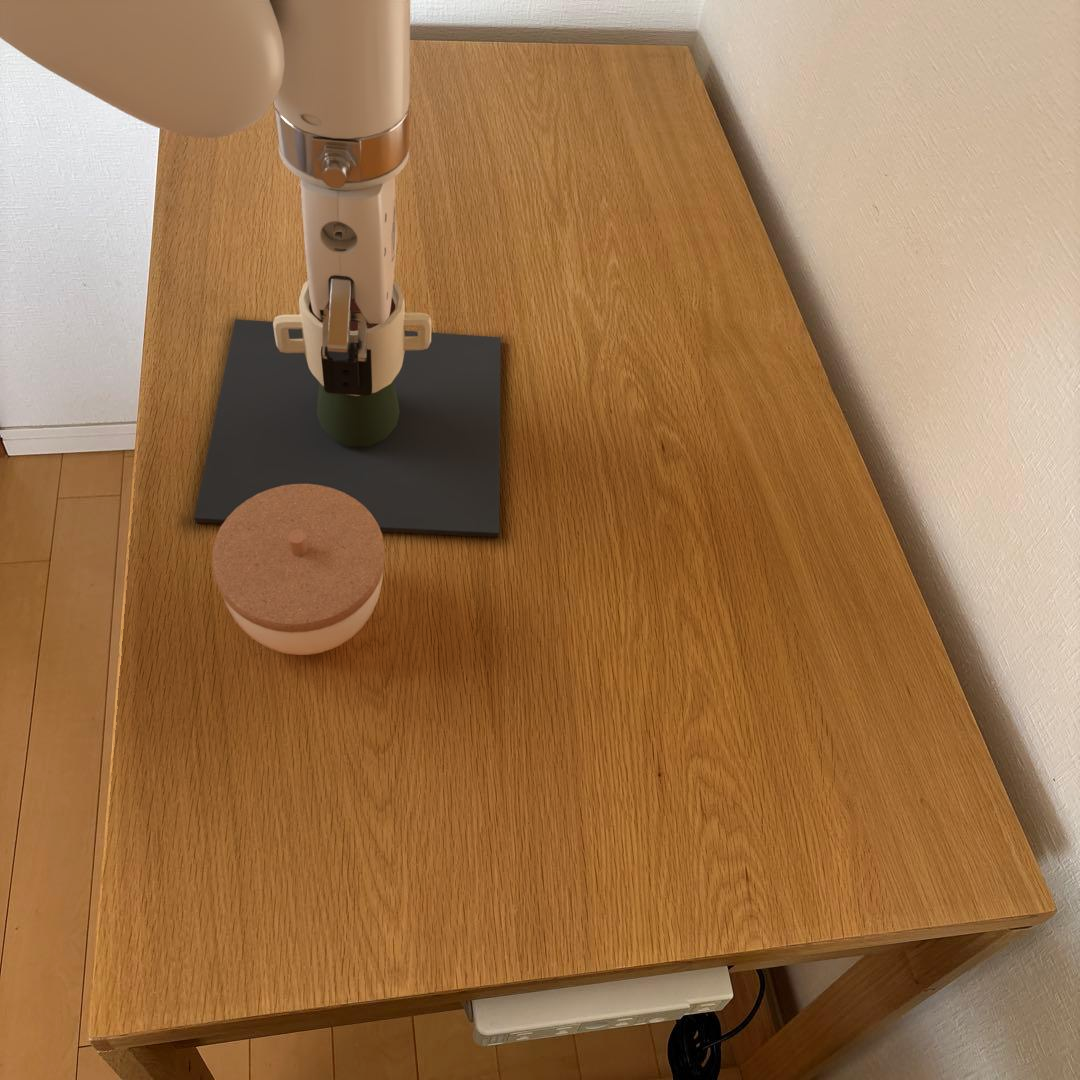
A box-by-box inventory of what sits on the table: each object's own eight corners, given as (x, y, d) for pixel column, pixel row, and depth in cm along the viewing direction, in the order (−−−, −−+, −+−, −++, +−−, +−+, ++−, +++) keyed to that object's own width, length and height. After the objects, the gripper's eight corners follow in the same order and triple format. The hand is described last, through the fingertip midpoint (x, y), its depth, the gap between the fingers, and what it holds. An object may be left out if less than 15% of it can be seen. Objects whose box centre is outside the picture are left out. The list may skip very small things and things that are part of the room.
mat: (195, 522, 74) (193, 518, 74) (236, 324, 85) (235, 318, 85) (498, 537, 76) (499, 533, 76) (500, 341, 87) (500, 337, 87)
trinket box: (216, 564, 72) (193, 486, 65) (365, 531, 75) (361, 452, 67) (244, 698, 67) (223, 630, 59) (403, 657, 70) (403, 588, 62)
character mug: (425, 384, 83) (428, 259, 72) (432, 453, 79) (436, 333, 68) (287, 388, 81) (269, 261, 70) (287, 459, 77) (268, 336, 67)
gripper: (400, 233, 54) (400, 438, 68) (417, 47, 64) (414, 260, 78) (255, 222, 53) (286, 431, 68) (294, 35, 63) (314, 253, 77)
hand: (354, 339), depth 73 cm, fingers open, 9 cm apart
